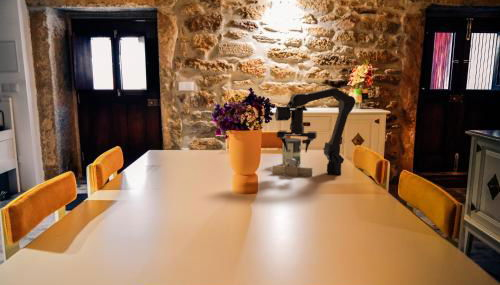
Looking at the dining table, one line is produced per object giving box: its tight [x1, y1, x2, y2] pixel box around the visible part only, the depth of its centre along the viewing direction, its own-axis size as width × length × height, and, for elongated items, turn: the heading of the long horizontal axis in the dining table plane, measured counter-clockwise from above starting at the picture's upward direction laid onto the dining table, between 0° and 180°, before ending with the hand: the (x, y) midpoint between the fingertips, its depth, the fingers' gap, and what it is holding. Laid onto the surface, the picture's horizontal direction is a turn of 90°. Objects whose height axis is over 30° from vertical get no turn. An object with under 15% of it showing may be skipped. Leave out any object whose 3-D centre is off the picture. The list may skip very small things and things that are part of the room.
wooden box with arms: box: [272, 163, 313, 178], centre depth 182 cm, size 20×6×5 cm, turn 74°
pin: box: [289, 158, 296, 166], centre depth 181 cm, size 3×3×8 cm
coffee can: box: [281, 137, 302, 166], centre depth 201 cm, size 10×10×14 cm
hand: (296, 151), depth 179 cm, fingers open, 9 cm apart
